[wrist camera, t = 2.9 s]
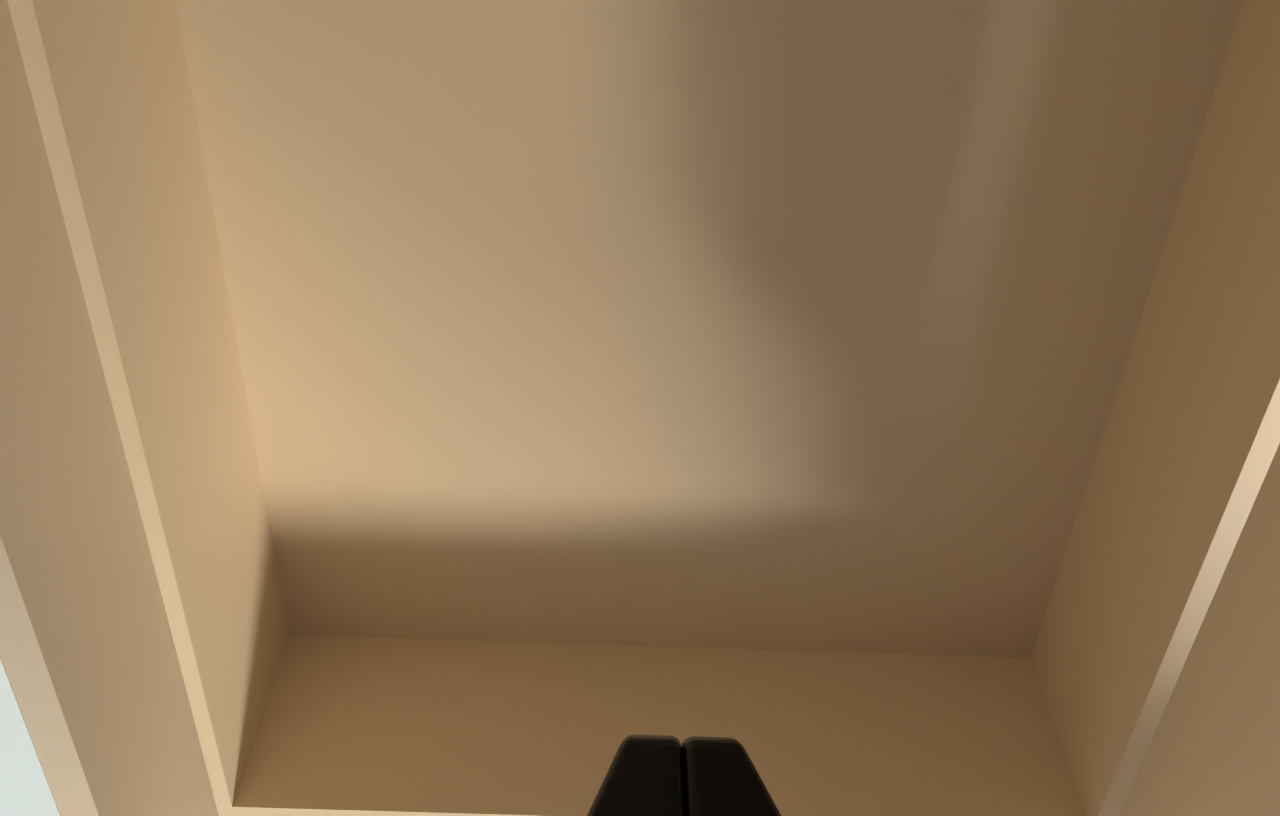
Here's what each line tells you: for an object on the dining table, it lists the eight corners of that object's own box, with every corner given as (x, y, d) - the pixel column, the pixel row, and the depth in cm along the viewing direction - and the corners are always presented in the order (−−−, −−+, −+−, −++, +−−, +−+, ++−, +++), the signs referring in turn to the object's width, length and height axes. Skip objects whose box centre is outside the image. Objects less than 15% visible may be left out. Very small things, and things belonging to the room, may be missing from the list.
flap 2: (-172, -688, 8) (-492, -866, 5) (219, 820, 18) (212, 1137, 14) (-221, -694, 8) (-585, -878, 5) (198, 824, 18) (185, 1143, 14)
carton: (1691, -1302, 9) (2249, -1767, 6) (995, 794, 24) (1050, 986, 21) (-113, -1417, 9) (-539, -1968, 6) (302, 774, 24) (248, 965, 21)
